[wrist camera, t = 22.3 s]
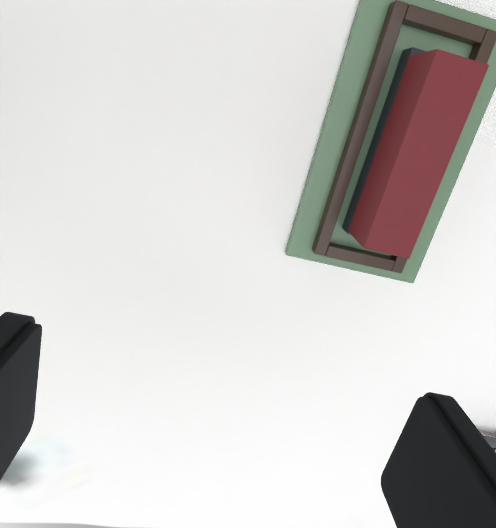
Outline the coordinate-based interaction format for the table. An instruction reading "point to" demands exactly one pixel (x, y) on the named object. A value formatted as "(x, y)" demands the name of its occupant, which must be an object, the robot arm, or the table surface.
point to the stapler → (412, 148)
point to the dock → (366, 119)
